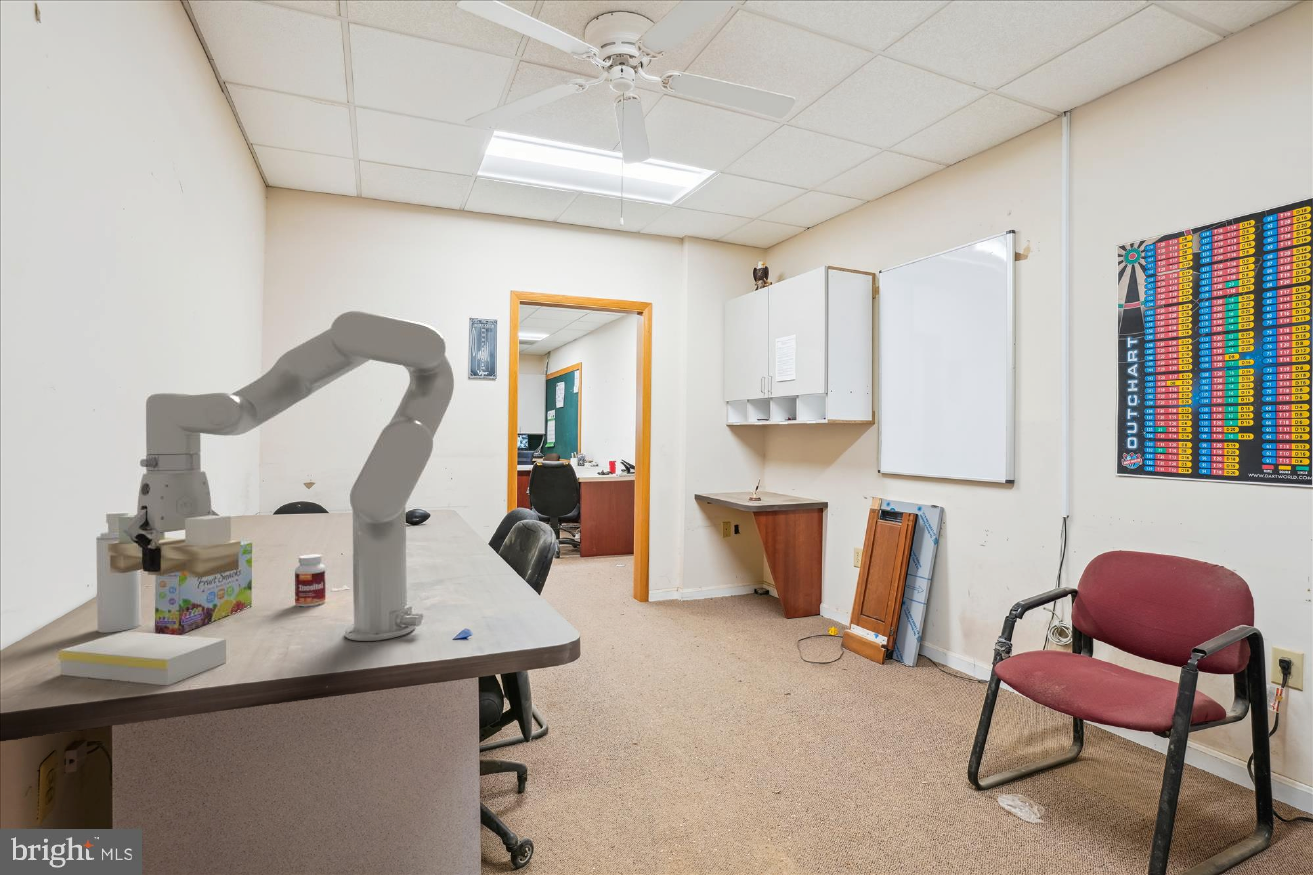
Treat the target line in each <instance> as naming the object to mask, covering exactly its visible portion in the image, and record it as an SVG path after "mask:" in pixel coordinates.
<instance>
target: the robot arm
mask: <svg viewBox="0 0 1313 875" xmlns="http://www.w3.org/2000/svg"><path fill="white" fill-rule="evenodd" d="M446 349H447V348H446V342H445V339H444V337H443V335H442V334H441V332H439V331H438V330H436V328H434V327H432V326H430V325H427V324H424V323H421V322H415V321H410V320H406V319H400V318H395V317H390V316H385V315H380V314H376V313H370V312H365V311H360V310H356V311H354V310H351V311H346V312H343V313H342V314H340V315H338V316H337V317H336V318H334V320H333V322H332V324H331V327H330V328H328V329H327V330H324V331H323V332H321V333H320V334H317V335H316V336H314V337H312V338H310V339H309V340H307V341H305V342H303V343H301V344H299V345H297V346H295V347H294V348H292V349H290V350H287V351H286V352H285V353H283V354H282V355H281V356H280V357H279V358H278V359H277V360H276V362H275V364H274V365H273V366H272V367H271V368H270V369H269V370H267V372H266V373H265V374H263V375H262V376H261V377H259V378H257V379H256V380H254V381H252V382H251V383H249V384H247V385H245V386H244V387H242V388H240V389H238V390H236V391H235V392H232V393H227V392H213V393H203V394H187V393H172V392H171V393H170V392H169V393H168V392H167V393H165V392H164V393H154V394H151V395H150V396H148V397H147V399H146V401H145V436H146V437H145V440H146V441H145V442H146V443H145V444H146V446H145V447H146V451H145V453H146V454H145V458H143V459H141V460H140V462H139V464H140V467H141V468H146V469H145V470H146V473H143V474H142V478H141V481H140V486H139V490H138V496H137V497H138V499H137V510H136V511H137V512H136V514H134V515H135V516H134V517H133V518H132V519H131V520H130V521H129V522H128V523H127V524H125V525H124V526H123V528H122V530H123V531H124V532H125V533H126V534H127V535H128V536H129V537H130V538H131V540H132V541H133V542H135V543H136V544H137V545H138V547H139V548H142V566H143V569H142V570H143V572H145V573H146V572H147V573H148V572H159V571H160V570H161V549H160V548H157V545H158V543H159V541H160V539H161V537H162V535H163V533H164V532H165V533H169V532H177V531H184V530H185V519H187V518H195V517H203V516H220V514H218V513H217V512H216V511H215V510H213V509H212V498H211V489H210V486H209V480H208V476H207V474H206V471H202V469H201V466H202V464H201V451H202V450H201V434H203V435H204V434H205V435H206V434H207V435H213V436H232V437H233V436H240V435H242V434H246V433H249V432H250V431H252V430H253V429H255V428H258V427H259V426H260V425H262V424H264V423H266V422H267V421H269V420H271V419H273V418H275V417H276V416H278V415H279V414H281V413H282V412H284V411H287V409H289V408H291V407H292V406H294V405H296V404H297V403H299V402H301V401H303V400H304V399H306V398H308V397H309V396H311V395H313V394H315V392H317V391H319V390H321V389H322V388H324V387H326V386H327V385H329V384H331V383H332V382H334V381H336V380H338V379H339V378H341V377H342V376H345V375H346V374H348V373H349V372H351V371H353V370H355V369H357V368H359V367H361V366H362V365H363V364H366V363H367V362H369V361H370V360H371V361H376V362H382V363H386V364H391V365H399V366H403V367H404V368H405V369H406V371H407V372H408V374H409V383H408V386H407V389H406V390H405V392H404V394H403V397H402V398H401V400H400V402H399V405H398V407H397V408H396V410H395V413H394V414H393V416H392V418H391V420H390V421H389V423H387V425H386V426H384V428H383V429H382V430H381V432H380V434H379V436H378V437H377V440H376V442H375V444H374V445H373V447H372V450H370V453H369V455H368V457H367V459H366V461H365V463H364V464H363V466H362V469H361V470H360V471H359V474H358V475H357V478H356V480H355V482H354V483H353V485H352V487H351V490H350V494H349V503H350V507H351V509H352V580H353V581H352V583H353V584H352V588H353V590H352V592H353V594H352V595H353V623H352V624H350V625H349V626H347V627H346V628H345V630H344V636H345V638H347V639H349V640H352V641H358V642H373V641H375V642H376V641H381V640H382V641H384V640H389V639H393V638H394V639H395V638H398V637H401V636H405V635H407V634H409V633H411V632H413V631H414V629H416V627H420V626H421V625H422V622H423V619H424V614H423V613H421V612H420V613H417V612H416V613H413V605H408V599H407V598H408V595H407V594H408V590H407V589H408V588H407V586H408V585H407V584H408V583H407V579H408V578H407V521H406V512H407V510H406V505H407V503H408V501H409V500H410V498H411V495H412V494H413V492H414V489H415V487H416V485H417V483H418V481H419V480H420V478H421V475H422V474H423V472H424V470H425V467H426V466H427V464H428V461H429V460H430V458H431V456H432V455H431V454H432V453H433V450H434V437H435V435H436V433H437V430H438V429H439V427H440V425H441V422H442V421H443V418H444V416H445V413H446V411H447V409H448V407H449V405H450V403H451V400H452V398H453V394H454V390H455V389H454V388H455V380H454V379H455V378H454V373H453V368H452V365H451V364H450V361H449V359H448V358H447V357H446ZM139 529H140V530H141V531H144V532H143V534H142V533H141V532H140V531H139ZM152 534H153V535H152ZM151 536H152V537H151ZM150 538H151V539H150Z"/></svg>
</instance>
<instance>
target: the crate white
mask: <svg viewBox="0 0 1313 875" xmlns="http://www.w3.org/2000/svg"><path fill="white" fill-rule="evenodd" d="M231 518H232V517H231V515H219V516H203V517H195V518H187V519H185V533H184V535H185V536H184V537H185V538H184V539H185V545H187V546H211V545H217V544H222V543H228V542H231V541H232V540H231V539H232V535H231V534H232V526H231V525H232V524H231V522H232V520H231Z"/></svg>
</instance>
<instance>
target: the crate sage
mask: <svg viewBox="0 0 1313 875" xmlns="http://www.w3.org/2000/svg"><path fill="white" fill-rule="evenodd" d="M135 515H136V514H132V515H131V514H129V516H120V517H119V542H121V543H135V542H133V541H132V540H131V538H130V537H129V536H128V535H127V534H126V533H125V532H124V531H123V530H122V528H123V526H124V525H125V524H127V523H128V522H129V521H130V520H131V519H132V518H133V517H134V516H135ZM139 531H140V532H141V533H142V534H143V532H144V531H141V530H140V529H139ZM165 533H166V532H164V533H163V535H162V537H161V539H160V540H163V539H165V538H166V535H165ZM152 535H153V534H152ZM151 537H152V536H151ZM150 539H151V538H150Z"/></svg>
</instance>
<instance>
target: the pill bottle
mask: <svg viewBox="0 0 1313 875" xmlns="http://www.w3.org/2000/svg"><path fill="white" fill-rule="evenodd" d="M322 560H323V557H322V554H319V553H318V554H317V553H316V554H315V553H313V554H312V553H311V554H305V555H300V556H298V563H299V565H298V566H297V567H296V568H295V570H294V602H295V603H294V604H295V606H296V607H299V606H304V607H303V608H307V607H306V606H311V607H316V606H319V604H320V605H323V604H324V603H325V602H326V599H327V598H326V596H327V595H326V592H327V591H326V590H327V588H326V566H325V565H324V564H323V563H321V562H323V561H322Z"/></svg>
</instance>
